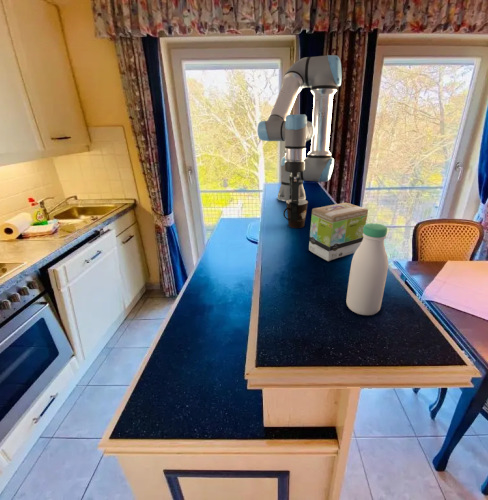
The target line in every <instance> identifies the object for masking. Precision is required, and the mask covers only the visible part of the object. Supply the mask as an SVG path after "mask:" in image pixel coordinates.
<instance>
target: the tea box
mask: <svg viewBox="0 0 488 500" xmlns="http://www.w3.org/2000/svg"><path fill="white" fill-rule="evenodd" d="M368 214H369V209H368V208H365V207H362V206H359V205H355V204H352V203H350V202H346V201H345V202H341V203H335V204H330V205H325V206H321V207H314V208H312V209H311V218H310V230H309V241H308V242H309V243H308V251H310V252H311V253H313V254H314V255H316V256H318V257H319V258H321V259H323V260H325V261H327V262H331V261H333V260H336V259H338V258H343V257H346V256H348V255H352V254H355V252H356V250H357V249H358V247H359V246H360V244H361V242H362V240H363V237H364V236H363V228H364V225H366V224H367V219H368Z"/></svg>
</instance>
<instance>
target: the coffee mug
mask: <svg viewBox="0 0 488 500" xmlns="http://www.w3.org/2000/svg"><path fill="white" fill-rule="evenodd" d="M293 201H296V200H293ZM298 201H299V204H298V221H290V216H291V204H289V202H291V200H287V201H286V202H285V203H286V204H285V205H286V208H284V210H283V212H282V213H283V217H284V218H285V220H287V222H288V224H287V225H288V227H289V228H292V229H301V228H304V227H305V222H306V217H307V211H308V205H309V201H308V200H306V199H305V200H303V199H299V200H298ZM286 214H287V216H286Z"/></svg>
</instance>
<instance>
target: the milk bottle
mask: <svg viewBox="0 0 488 500" xmlns="http://www.w3.org/2000/svg"><path fill="white" fill-rule="evenodd" d="M387 235H388V227H387V226H386V225H384V224H381V223H375V222H369V223H366V225H364V228H363V236H364V237H363V240H362V242H361V244H360V246H359V247H358V249H357V250H356V252H355V253H353V255H352V259H351V264H350V268H349V276H348V283H347V293H346V299H345V300H346V301H345V302H346V306H347V307H348V309H349V310H350V311H352V312H354V313H355V314H357V315H362V316H374V315H375V314H377V313H379V311H380V310H381V307H382V303H383V297H384V291H385V287H386V283H387V282H386V281H387V276H388V270H389V258H388V253H387V251H386V246H385V239H386V238H387Z"/></svg>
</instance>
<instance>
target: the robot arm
mask: <svg viewBox="0 0 488 500" xmlns="http://www.w3.org/2000/svg"><path fill="white" fill-rule="evenodd" d="M342 74H343V71H342V61H341V58H340V57H339V56H338V55H336V54H333V55H332V54H331V55H330V54H327V55H318V56H306V57H302V58H300V59H299V60H297V61H295V62H294V63H293V64H292V65H291V66H290V67H289V68H288V69H287V71H286V72H285V74H284V76H283V77H282V82H281V83H282V85H281V87H280V90H279V93H278V94H277V97H276V100H275V101H274V104H273V106H272V108H271V111H270V114H269V116H268V117H267V120H261V121H259V122H258V124H257V131H256V132H257V136H258V138H259V140H260V141H263V142H264V141H265V142H284V149H285V150H283V154H284V156H283V157H282V158H281V160H280V187H279V190H278V193H277V200H278V202H283V203H286V201H287V200H291V202H289V204H291V216H290V221H298V204H299V201H298V200H299V199H303V200H306V199H307V196H306V191H305V189H304V182H317V183H327V182H329V180H331V177H332V174H333V170H334V165H335V159H334V158H333V157H332V153H331V152H330V150H329V149H330V148H329V147H330V138H331V136H330V135H331V124H332V113H333V101H334V100H333V99H334V95H335V94H336V92H338V87H341V85H342V81H343V79H342V77H343V75H342ZM305 88H310V92H311V94H312V95H313V107H312V108H313V109H312V121H309V120H308V116H307V115H306V114H303V113H302V114H301V113H299V114H298V113H297V114H296V113H295V114H291V112H292V109H293V107H294V104H295V102H296V99H297V96H298V94H299V93H301V91H302V90H303V89H305ZM310 140H311V142H310V144H311V145H310V151H308V153H307V157H306V150H307V148H306V146H307V145H306V144H307V142H309V141H310ZM293 200H296V201H293Z"/></svg>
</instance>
